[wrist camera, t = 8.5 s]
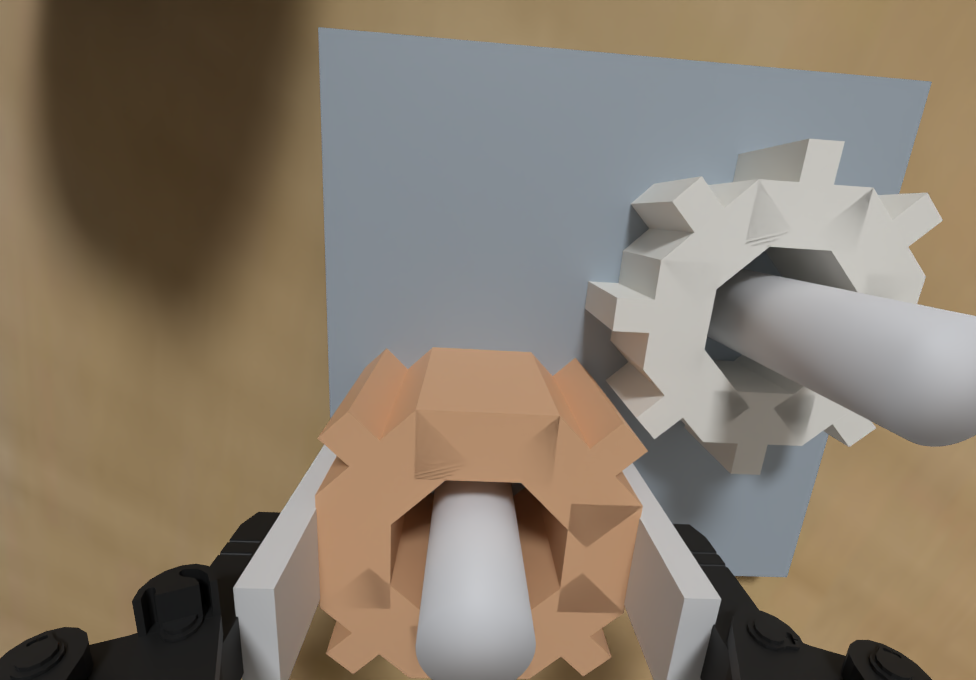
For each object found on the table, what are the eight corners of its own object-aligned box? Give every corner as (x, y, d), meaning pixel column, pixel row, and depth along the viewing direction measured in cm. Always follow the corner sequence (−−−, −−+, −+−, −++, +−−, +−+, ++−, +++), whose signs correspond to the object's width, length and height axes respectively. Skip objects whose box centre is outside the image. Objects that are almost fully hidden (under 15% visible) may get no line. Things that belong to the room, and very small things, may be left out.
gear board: (345, 539, 19) (238, 819, 10) (333, 46, 14) (113, -228, 5) (763, 550, 20) (993, 813, 11) (886, 94, 15) (1462, -70, 6)
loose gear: (363, 546, 17) (322, 676, 12) (361, 343, 15) (311, 405, 10) (572, 552, 18) (611, 680, 13) (599, 355, 15) (658, 419, 11)
